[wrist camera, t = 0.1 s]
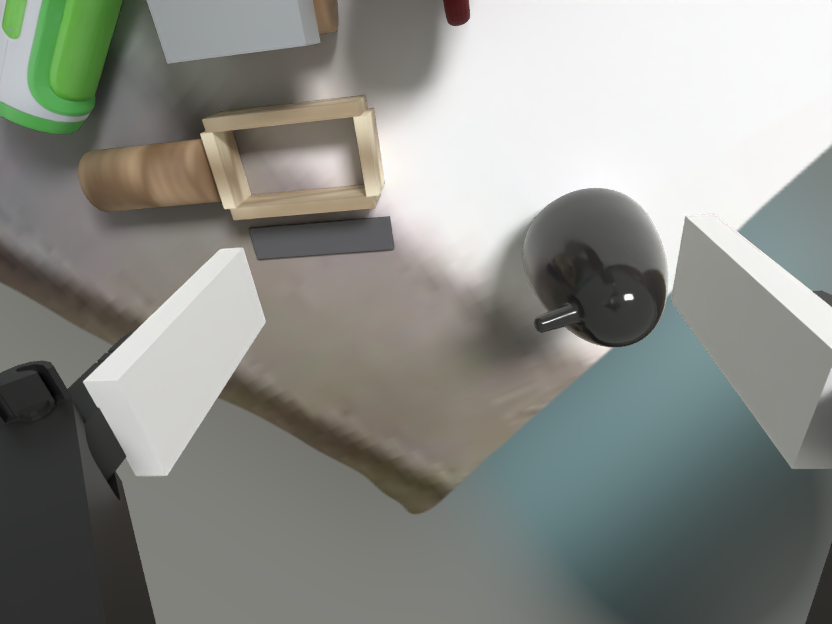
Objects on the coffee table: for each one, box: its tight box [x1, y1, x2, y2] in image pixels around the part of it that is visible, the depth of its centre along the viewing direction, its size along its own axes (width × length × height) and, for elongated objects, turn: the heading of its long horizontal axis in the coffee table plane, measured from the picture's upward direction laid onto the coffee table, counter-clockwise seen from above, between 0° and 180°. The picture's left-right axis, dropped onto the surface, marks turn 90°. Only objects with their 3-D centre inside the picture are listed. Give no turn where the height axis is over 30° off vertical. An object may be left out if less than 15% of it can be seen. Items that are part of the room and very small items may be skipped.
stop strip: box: [249, 216, 394, 259], centre depth 45 cm, size 3×13×1 cm, turn 97°
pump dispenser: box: [522, 188, 668, 347], centre depth 37 cm, size 10×10×15 cm
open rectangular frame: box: [200, 95, 385, 220], centre depth 40 cm, size 8×13×4 cm, turn 97°
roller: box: [78, 139, 221, 212], centre depth 41 cm, size 5×10×5 cm, turn 97°
